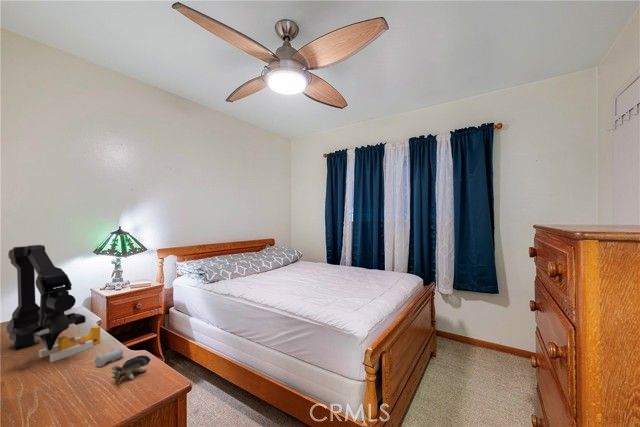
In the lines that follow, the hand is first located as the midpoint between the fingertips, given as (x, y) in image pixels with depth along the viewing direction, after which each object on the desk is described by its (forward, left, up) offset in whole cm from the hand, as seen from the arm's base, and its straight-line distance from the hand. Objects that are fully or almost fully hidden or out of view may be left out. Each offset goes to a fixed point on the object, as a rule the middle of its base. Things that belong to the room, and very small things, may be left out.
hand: (49, 350), depth 94 cm
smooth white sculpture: (+22, +7, -3) cm, 24 cm away
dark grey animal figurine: (+40, +4, -3) cm, 40 cm away
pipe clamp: (+1, +8, -3) cm, 9 cm away
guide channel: (0, +5, -3) cm, 6 cm away
